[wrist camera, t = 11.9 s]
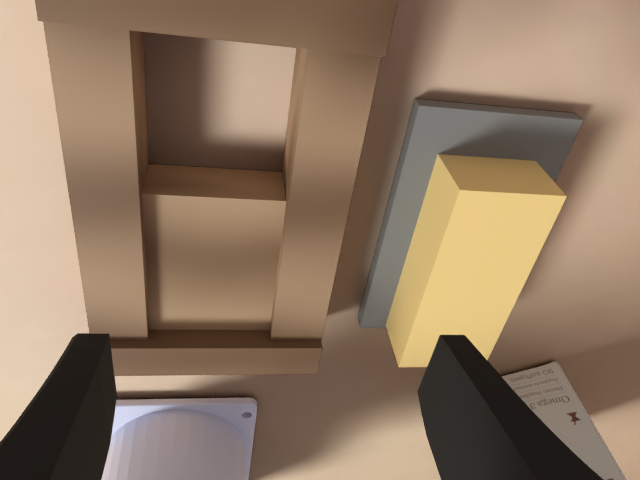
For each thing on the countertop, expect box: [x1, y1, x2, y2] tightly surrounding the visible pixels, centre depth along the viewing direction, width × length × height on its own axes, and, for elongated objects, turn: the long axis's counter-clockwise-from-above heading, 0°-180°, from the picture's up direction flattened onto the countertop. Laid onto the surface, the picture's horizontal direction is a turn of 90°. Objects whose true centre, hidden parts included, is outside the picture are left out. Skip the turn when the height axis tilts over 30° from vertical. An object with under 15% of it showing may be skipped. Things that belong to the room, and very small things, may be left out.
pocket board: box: [35, 0, 398, 376], centre depth 19 cm, size 15×9×3 cm, turn 172°
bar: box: [386, 154, 567, 367], centre depth 22 cm, size 9×4×2 cm, turn 172°
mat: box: [358, 99, 583, 328], centre depth 23 cm, size 11×6×1 cm, turn 172°
